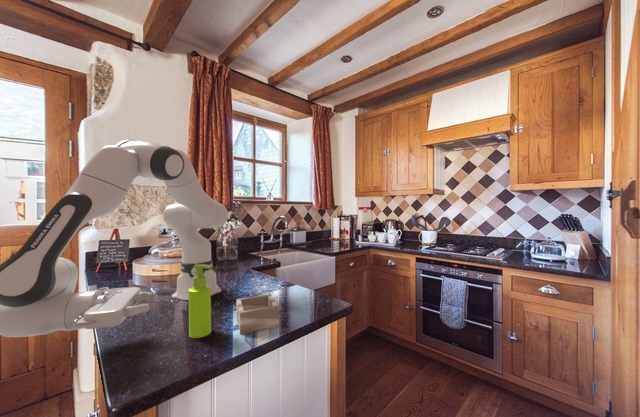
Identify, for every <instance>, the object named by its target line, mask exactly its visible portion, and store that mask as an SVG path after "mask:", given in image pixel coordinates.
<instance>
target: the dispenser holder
mask: <svg viewBox="0 0 640 417" xmlns="http://www.w3.org/2000/svg"><path fill="white" fill-rule="evenodd" d="M235 302H236V320H237V325H238V330H239V335H245V334H249V333H250V334H251V333H254V332H255V333H256V332H259V331H265V330H270V329H277V328H280V306H279V304H278V303H277V301H276V300H275V298H274V297H273V296H272V294H271V293H269V294H264V295H263V294H262V295H256V296H249V297H242V298H240V297H239V298H236V301H235Z"/></svg>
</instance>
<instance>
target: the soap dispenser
mask: <svg viewBox="0 0 640 417" xmlns="http://www.w3.org/2000/svg"><path fill="white" fill-rule="evenodd" d="M213 267H214V266H213V265H212V266H211V265H206V264H201V265H195V266H193V268H196V276H194V277H193V288H190V289H189V290H188V297H189V300H188V337H189V338H191V339H200V338H204V337H207V336H208V335H209V336H210V334H211V333H212V297H211V287H210V286H206V276H205V275H203V268H206V269H210V268H212V269H213Z"/></svg>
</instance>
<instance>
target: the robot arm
mask: <svg viewBox="0 0 640 417" xmlns="http://www.w3.org/2000/svg"><path fill="white" fill-rule="evenodd" d="M139 176H140V177H144V178H149V179H158V180H160V181H163V182H164V185H165V187H166V189H167V191H168V193H169V195H170V197H171V199H173V200H174V201H175V203H172V204H168V205H167V206H166V207H165V208H164V211H163V213H162V218H163V222H164V223H165V224H166V226H168V227H169V229H172V230H173V232H174V233H175V234H176V235H177V237H178V240H179V241H180V246H181V259H182V261H181V263H180V271H181V273H180V274H179V275H178V276H177V278H176V291H175V292H173V294H172V295H171V298H172V299H178V300H183V301H189V297H188V290H189V289H190V288H193V277H194V276H196V268H193V266H195V265H201V264H206V265H211V266H213V260H212V244H211V241H210V240H209V239H208V238H206V237H204V236H202V235H201V234H200V232H199V230H198V229H214V228H219V227H223V226H224V225H225V224H226V222H227V221H228V218H229V212H228V209H227V207H226V206H225V205H224V204H223V203H220V202H218V201H216V200H215V199H213V198H212V197H211V196H209V195H208V194H207V193H206V191H205V190H204V189H203V188H202V185H201V183H200V179H199V178H198V176H197V173H196V171H195V168H194V166H193V163H192V161H191V160H190V158H189V157H188V155H187V154H186V153H185V152H184V151H183V150H181V149H180V148H179V149H178V148H173V147H170V146H167V145H162V144H158V143H155V142H150V141H148V142H147V141H142V140H137V139H126V140H125V139H124V140H122V141H121V140H120V141H119V142H117V143H116V144H114V145H105V146H103V147H102V148H100V149H99V150H98V151H97V152H95V154H94V155H93V156H92V157H91V158H90V160H88V161H87V163H86V164H85V165H84V167H83V168H82V170H81V171H80V173H79V175H78V176H77V178H76V179H75V180H74V181H73V183H72V185H71V186H70V188H69V189H68V191H67V192H65V194H64V195H63V196H62V197H61V198H60V199H59V200H58V202H56V203H55V204H54V206H53V207H52V208H51V209H50V211H48V213H47V214H46V215H45V217H43V219H42V221H41V222H40V223H39V224H38V226H37V227H36V228H35V230H34V231H33V232H32V233H31V235H30V236H29V237H28V239H26V241H25V242H24V244H23V245H22V246H21V247H20V248H19V249H18V251H16V252H15V253H14V254H13V255H12V256H10V257H9V258H8V259H6V260H5V261H2V263H0V336H3V337H6V338H25V337H35V336H42V335H49V334H51V333H54V332H58V331H68V332H69V331H77V330H82V329H86V330H95V329H105V328H112V327H117V326H119V325H121V324H122V323H123V322H124V320H126V318H127V317H132V316H135V315H139V314H142V313H147V312H148V311H149V309H150V303H149V302H147V303H141V304H139V305H138V303H139V302H143V301H154V300H156V299H157V296H158V294H157V292H146V291H142V288H141V287H137V286H133V287H132V286H131V287H129V286H128V287H114V288H109V286H108V287H107V286H106V287H104V286H103V287H99V288H97V289H94V290H87V291H79V292H76V288H77V285H78V282H79V277H80V269H79V267H78V265H77V263H76V262H75V261H73V260H71V259H69V258H66V257H61V256H62V254H63V252H64V251H65V250H66V248H67V247H68V245H69V243H70V242H71V241H72V240H73V238H74V237H75V236H76V235H77V232H78V231H79V230H80V229H81V228H82V227H83V226H84V225H86V224H87V223H90V222H91V221H92V220H95V219H97V218H100V217H105V216H107V215H110V214H112V213H114V212H115V210H116V209H117V208H118V207H119V206H120V205H121V204H122V202H123V201H124V199H125V198H126V196H127V194H128V193H129V190H130V188H131V186H132V184H133V181H134V180H135V179H136V178H137V177H139ZM173 200H172V201H173ZM203 275H205V276H206V286H210V287H211V296H214V295H216V294H219V293H221V292H222V288H221V287H220V286H219V285H218V284H217V282H218V281H217V273H216V272H215V271H214V270H213V268H210V269H206V268H203Z"/></svg>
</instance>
